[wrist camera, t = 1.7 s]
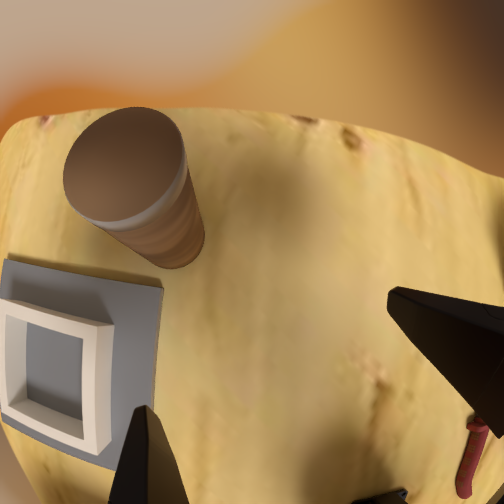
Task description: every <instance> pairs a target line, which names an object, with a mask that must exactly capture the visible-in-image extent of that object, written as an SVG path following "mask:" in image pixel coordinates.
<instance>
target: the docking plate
mask: <svg viewBox="0 0 504 504" xmlns="http://www.w3.org/2000/svg"><path fill="white" fill-rule="evenodd" d="M163 292H164V289H163V288H158V287H152V286H145V285H139V284H132V283H126V282H120V281H114V280H108V279H103V278H97V277H91V276H86V275H80V274H75V273H70V272H65V271H60V270H55V269H50V268H45V267H40V266H35V265H31V264H26V263H21V262H17V261H13V260H8V259H4V262H3V268H2V275H1V283H0V409H1V417H2V421H3V422H5V423H6V424H8V425H10V426H11V427H13V428H15V429H17V430H18V431H20V432H22V433H24V434H26V435H28V436H30V437H32V438H34V439H36V440H38V441H40V442H42V443H44V444H46V445H48V446H50V447H52V448H55V449H57V450H59V451H61V452H64V453H66V454H68V455H71V456H73V457H76V458H79V459H81V460H84V461H87V462H89V463H92V464H95V465H98V466H101V467H104V468H107V469H110V470H113V471H116V469H117V465H118V462H119V458H120V454H121V451H122V447H123V444H124V441H125V437H126V434H127V430H128V427H129V424H130V421H131V417H132V414H133V411H134V409H135V408H136V407H139V406H142V405H147V406H149V407H150V409H151V410H152V411H153V412H154V390H155V374H156V360H157V348H158V337H159V327H160V317H161V309H162V300H163Z"/></svg>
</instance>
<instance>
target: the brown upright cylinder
mask: <svg viewBox="0 0 504 504" xmlns="http://www.w3.org/2000/svg"><path fill="white" fill-rule="evenodd" d="M63 184H64V191H65V194H66V197H67V200H68V201H69V203H70V205H71V206H72V208H73V209H74V210H75V211H76V212H77V213H78V214H80V215H81V216H82V217H84V218H85V219H86V220H88V221H89V222H91V223H92V224H94V225H95V226H97V227H99V228H101V229H103V230H104V231H106V232H107V233H109V234H110V235H111V236H113V237H114V238H116V239H117V240H119V241H120V242H122V243H123V244H125V245H126V246H128V247H129V248H131V249H132V250H133V251H135V252H136V253H138V254H139V255H141V256H143V257H144V258H146V259H147V260H149V261H150V262H152V263H153V264H155V265H157V266H159V267H161V268H165V269H177V268H181V267H184V266H186V265H188V264H189V263H191V262H192V261H193V260H194V259H195V258H196V257H197V256H198V254H199V253H200V251H201V249H202V247H203V244H204V238H205V232H204V227H203V223H202V219H201V216H200V212H199V208H198V204H197V201H196V197H195V193H194V189H193V185H192V181H191V177H190V173H189V169H188V165H187V157H186V152H185V148H184V143H183V139H182V136H181V133H180V131H179V129H178V127H177V126H176V125H175V123H174V122H173V121H172V120H171V119H170V118H169V117H167V116H166V115H164V114H163V113H161V112H159V111H156V110H153V109H150V108H144V107H129V108H124V109H120V110H116V111H113V112H111V113H109V114H106V115H105V116H103V117H101V118H99V119H98V120H96V121H95V122H93V123H92V124H91V125H90V126H88V127H87V128H86V129H85V130H84V131H83V132H82V134H81V135H80V136H79V137H78V138H77V140H76V141H75V143H74V144H73V146H72V148H71V149H70V151H69V154H68V156H67V159H66V162H65V166H64V171H63Z"/></svg>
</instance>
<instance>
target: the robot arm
mask: <svg viewBox="0 0 504 504" xmlns="http://www.w3.org/2000/svg"><path fill="white" fill-rule="evenodd" d="M387 311H388V313H389V314H390V316H391V317H392V318H393V319H394V321H395V322H396V323H397V325H398V326H399V327H400V328H401V330H402V331H403V332H404V333H405V335H406V336H407V337H408V338H409V340H410V341H411V342H412V343H413V344H414V345H415V346H416V347H417V348H418V349H419V350H420V352H421V353H422V354H423V355H424V356H425V357H426V358H427V359H428V360H429V361H430V362H431V363H432V364H433V365H434V366H435V367H436V368H437V370H438V371H439V372H440V373H441V374H442V375H443V376H444V377H445V378H446V379H447V380H448V382H449V383H450V384H451V385H452V386H453V387H454V388H455V389H456V390H457V391H458V393H459V394H460V395H461V396H462V397H463V398H464V399H465V400H466V402H467V403H468V404H469V405H470V406H471V407H472V409H473V410H474V411H475V412H476V413H477V414H478V416H479V417H480V418H481V419H482V420H483V421H484V423H485V424H486V425H487V426H488V427H489V429H490V430H491V431H492V432H493V433H494V435H495V436H496V437H497V438H498V439H500V438H501V437H502V436H503V435H504V307H499V306H494V305H488V304H483V303H478V302H473V301H468V300H463V299H458V298H453V297H449V296H444V295H439V294H434V293H429V292H424V291H419V290H414V289H409V288H404V287H399V286H397V287H395V288H393V289H391V290H390V291H389V292H388V299H387ZM407 493H408V491H407V490H406V489H402V490H399V491H395V492H392V493H388V494H384V495H380V496H376V497H371V498H367V499H362V500H357V501H354V502H352V503H351V504H408V503H407V502H406V501H404V500H405V498H406V496H407ZM109 500H110V501H108V504H189V501H188V498H187V495H186V492H185V489H184V486H183V483H182V479H181V476H180V473H179V469H178V466H177V463H176V460H175V457H174V455H173V452H172V450H171V447H170V445H169V442H168V440H167V437H166V434H165V432H164V429H163V426H162V424H161V421H160V419H159V418H158V416H157V415H156V414H155V413H154V412H153V411H152V410H151V409H150V407H149V406H147V405H142V406H139V407H136V408H135V409H134V411H133V414H132V417H131V421H130V424H129V427H128V430H127V434H126V437H125V441H124V444H123V447H122V451H121V454H120V458H119V462H118V465H117V469H116V473H115V476H114V480H113V484H112V488H111V492H110V496H109ZM486 504H504V483H503V484H502V486H501V487H500V488H499V489H498V491H497V492H496V493H495V494H494V495H493V496H492V498H491V499H490V500H489V501H488V502H487V503H486Z"/></svg>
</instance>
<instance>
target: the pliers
mask: <svg viewBox="0 0 504 504" xmlns="http://www.w3.org/2000/svg"><path fill="white" fill-rule="evenodd" d="M467 429H468V430H471V431H472V432H471V436H470V439H469V442H468V446H467V449H466V452H465V455H464V458H463V461H462V464H461V466H460V469H459V472H458V476H457V479H456V487H457V493H458V496H459V497H460V498H462V499H467V498H469V497H470V496H471V495H472V486H471V485H472V479H473V476H474V473H475V470H476V467H477V465H478V462H479V459H480V457H481V454H482V451H483V448H484V445H485V442H486V439H487V435H488V432H489V427H488V426H487V425H486V424H485V423H484V421H483V420H482V419H481V418H480V417H479V416H478V414H476V417H475V419H474V421H473V422H471V423H468V425H467Z"/></svg>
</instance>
